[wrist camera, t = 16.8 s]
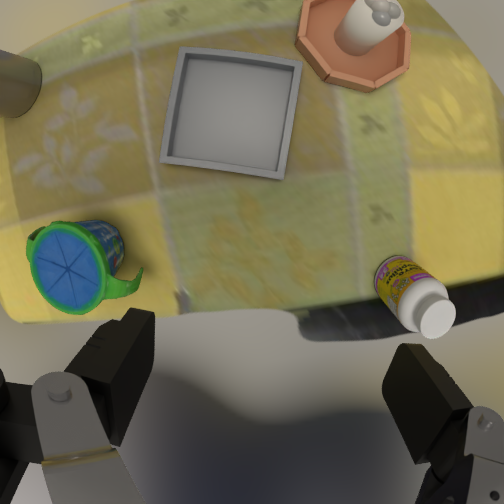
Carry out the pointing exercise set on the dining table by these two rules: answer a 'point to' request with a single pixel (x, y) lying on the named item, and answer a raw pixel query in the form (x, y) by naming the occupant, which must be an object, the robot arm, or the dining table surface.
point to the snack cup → (78, 264)
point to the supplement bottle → (415, 297)
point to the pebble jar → (367, 25)
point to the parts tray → (231, 111)
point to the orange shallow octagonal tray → (340, 63)
